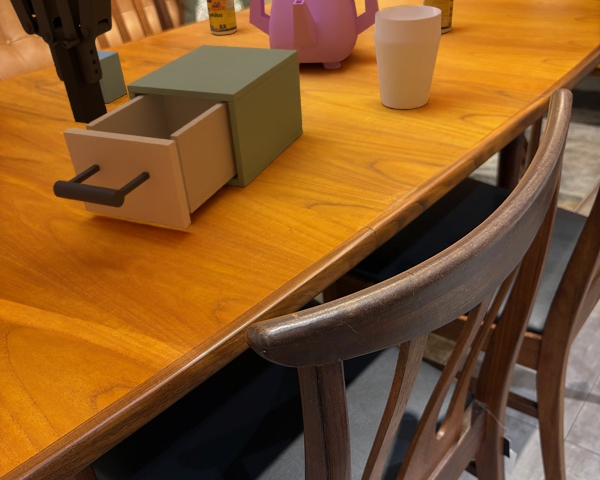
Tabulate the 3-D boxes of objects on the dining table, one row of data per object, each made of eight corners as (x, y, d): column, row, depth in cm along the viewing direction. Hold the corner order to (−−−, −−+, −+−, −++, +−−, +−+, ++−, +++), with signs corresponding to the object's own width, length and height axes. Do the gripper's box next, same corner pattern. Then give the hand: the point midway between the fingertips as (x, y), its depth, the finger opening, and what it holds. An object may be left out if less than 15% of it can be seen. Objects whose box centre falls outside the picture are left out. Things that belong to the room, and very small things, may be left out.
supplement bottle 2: (453, 33, 117) (458, -27, 111) (423, 35, 117) (427, -25, 111) (448, 26, 121) (453, -32, 115) (419, 28, 122) (422, -30, 115)
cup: (391, 88, 94) (394, 2, 87) (446, 96, 89) (454, 7, 82) (361, 107, 88) (361, 17, 81) (418, 116, 84) (423, 23, 76)
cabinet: (245, 187, 70) (233, 94, 63) (146, 172, 74) (126, 85, 68) (302, 133, 82) (297, 50, 75) (214, 123, 86) (203, 44, 80)
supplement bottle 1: (205, 34, 128) (197, -21, 122) (223, 27, 132) (216, -26, 126) (224, 36, 125) (217, -19, 119) (242, 30, 129) (236, -24, 123)
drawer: (151, 259, 57) (130, 172, 52) (49, 238, 61) (19, 155, 56) (255, 165, 72) (246, 90, 67) (167, 153, 77) (152, 82, 71)
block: (83, 101, 98) (71, 59, 94) (103, 90, 102) (92, 50, 98) (108, 103, 96) (97, 60, 92) (127, 93, 100) (118, 51, 96)
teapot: (325, 39, 119) (322, -49, 110) (390, 57, 107) (393, -41, 97) (242, 62, 110) (231, -32, 101) (302, 84, 98) (295, -21, 89)
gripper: (112, -231, 42) (174, 109, 56) (-27, -214, 46) (63, 97, 60) (34, -237, 36) (124, 141, 51) (-115, -217, 41) (7, 125, 55)
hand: (91, 117), depth 55 cm, fingers closed
